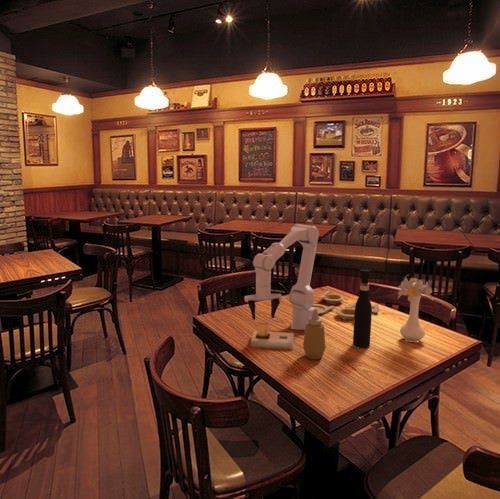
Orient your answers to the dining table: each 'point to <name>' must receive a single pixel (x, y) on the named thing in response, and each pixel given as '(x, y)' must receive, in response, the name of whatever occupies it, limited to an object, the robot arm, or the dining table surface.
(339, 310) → the tableware set
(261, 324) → the brass fitting
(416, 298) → the flower vase
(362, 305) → the wine bottle
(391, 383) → the dining table surface
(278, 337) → the plate
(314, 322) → the squeeze bottle
